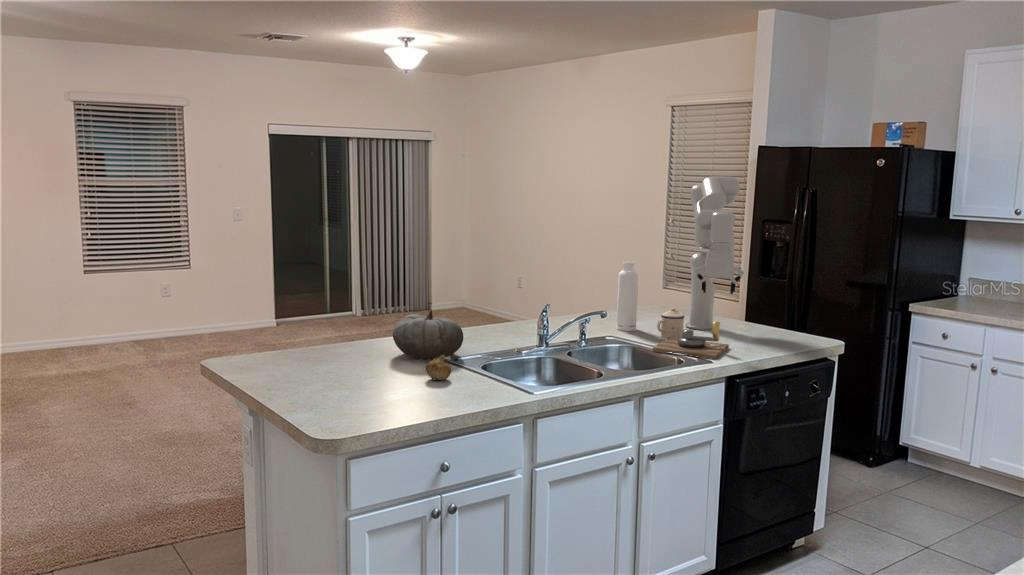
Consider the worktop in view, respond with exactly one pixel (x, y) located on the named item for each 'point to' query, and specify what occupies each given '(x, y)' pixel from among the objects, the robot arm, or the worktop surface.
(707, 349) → the level stand
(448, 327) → the gourd
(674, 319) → the teacup with lid
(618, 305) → the bottle
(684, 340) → the capstan
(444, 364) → the onion
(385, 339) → the worktop surface
